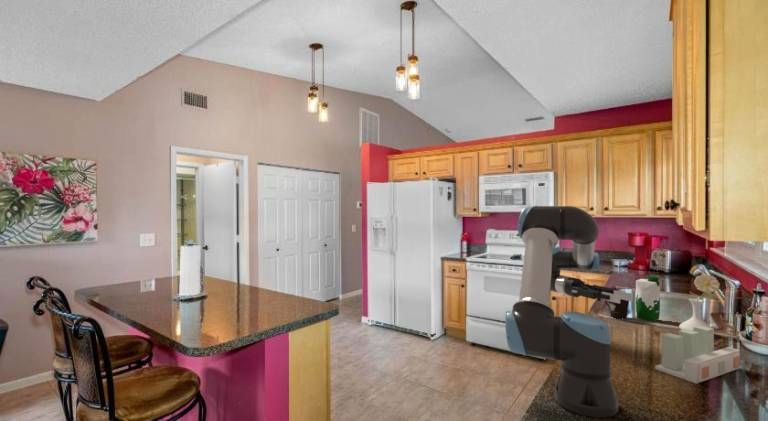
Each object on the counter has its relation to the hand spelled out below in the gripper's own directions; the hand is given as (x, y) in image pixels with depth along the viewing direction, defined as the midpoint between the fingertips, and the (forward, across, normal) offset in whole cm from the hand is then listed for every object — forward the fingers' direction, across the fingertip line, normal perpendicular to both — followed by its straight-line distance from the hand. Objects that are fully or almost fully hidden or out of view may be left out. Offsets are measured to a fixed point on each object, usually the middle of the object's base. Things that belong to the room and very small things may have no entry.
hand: (625, 298), depth 136 cm
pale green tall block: (+15, 0, -19) cm, 24 cm away
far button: (+15, -18, -19) cm, 30 cm away
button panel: (+18, -9, -20) cm, 28 cm away
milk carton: (-23, -52, -20) cm, 60 cm away
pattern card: (+24, -9, -20) cm, 32 cm away
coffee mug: (-31, -42, -20) cm, 56 cm away
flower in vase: (-1, -49, -20) cm, 53 cm away
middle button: (+15, -9, -19) cm, 26 cm away
